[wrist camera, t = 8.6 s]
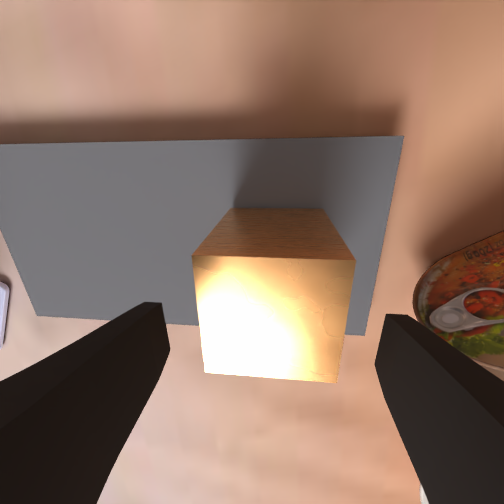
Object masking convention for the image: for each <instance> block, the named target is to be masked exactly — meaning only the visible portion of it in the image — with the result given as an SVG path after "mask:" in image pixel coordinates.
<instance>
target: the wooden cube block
mask: <svg viewBox="0 0 504 504" xmlns="http://www.w3.org/2000/svg"><path fill="white" fill-rule="evenodd" d="M191 256H192V265H193V273H194V282H195V290H196V298H197V307H198V315H199V324H200V332H201V340H202V349H203V357H204V366H205V372H208V373H220V374H233V375H245V376H257V377H269V378H282V379H294V380H306V381H318V382H330V383H337V378H338V372H339V366H340V359H341V353H342V347H343V340H344V334H345V328H346V322H347V315H348V309H349V303H350V297H351V290H352V284H353V278H354V271H355V265H356V259H355V258H354V256H353V255H352V253H351V251H350V250H349V248H348V247H347V245H346V244H345V242H344V241H343V239H342V237H341V236H340V234H339V233H338V231H337V230H336V228H335V227H334V225H333V223H332V222H331V220H330V219H329V217H328V216H327V214H326V213H325V211H324V209H305V208H230V209H229V210H228V212H227V213H226V214H225V215H224V216H223V218H222V219H221V220H220V221H219V223H218V224H217V225H216V226H215V227H214V229H213V230H212V231H211V232H210V233H209V235H208V236H207V237H206V238H205V239H204V241H203V242H202V243H201V244H200V245H199V247H198V248H197V249H196V250H195V252H194V253H193V254H192V255H191Z"/></svg>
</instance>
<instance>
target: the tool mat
mask: <svg viewBox="0 0 504 504" xmlns="http://www.w3.org/2000/svg"><path fill="white" fill-rule="evenodd" d="M403 139H404V136H368V137H321V138H274V139H227V140H180V141H132V142H85V143H38V144H0V230H1V232H2V234H3V237H4V239H5V241H6V244H7V246H8V248H9V251H10V253H11V256H12V258H13V260H14V263H15V265H16V267H17V270H18V272H19V274H20V277H21V279H22V282H23V284H24V286H25V289H26V291H27V293H28V296H29V298H30V301H31V303H32V305H33V308H34V310H35V312H36V315H37V316H48V317H64V318H81V319H97V320H113V319H115V318H116V317H118V316H120V315H121V314H123V313H125V312H126V311H128V310H130V309H132V308H134V307H135V306H137V305H139V304H141V303H143V302H161V303H162V306H163V312H164V317H165V323H166V324H180V325H196V326H200V324H199V315H198V307H197V298H196V290H195V282H194V273H193V265H192V256H191V255H192V254H193V253H194V252H195V250H196V249H197V248H198V247H199V245H200V244H201V243H202V242H203V241H204V239H205V238H206V237H207V236H208V235H209V233H210V232H211V231H212V230H213V229H214V227H215V226H216V225H217V224H218V223H219V221H220V220H221V219H222V218H223V216H224V215H225V214H226V213H227V212H228V210H229V209H230V208H305V209H324V211H325V213H326V214H327V216H328V217H329V219H330V220H331V222H332V223H333V225H334V227H335V228H336V230H337V231H338V233H339V234H340V236H341V237H342V239H343V241H344V242H345V244H346V245H347V247H348V248H349V250H350V251H351V253H352V255H353V256H354V258H355V259H356V265H355V271H354V278H353V284H352V290H351V297H350V303H349V309H348V315H347V322H346V328H345V334H344V335H361V336H365V332H366V326H367V321H368V316H369V311H370V306H371V301H372V296H373V291H374V286H375V281H376V276H377V271H378V266H379V261H380V256H381V250H382V245H383V240H384V235H385V230H386V225H387V220H388V215H389V210H390V205H391V200H392V195H393V190H394V185H395V180H396V175H397V169H398V164H399V159H400V154H401V149H402V144H403Z"/></svg>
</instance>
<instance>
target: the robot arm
mask: <svg viewBox="0 0 504 504" xmlns="http://www.w3.org/2000/svg"><path fill="white" fill-rule="evenodd" d="M8 298H9V287H8V286H7V285H6V284H4V283H2V282H0V349H2V347H3V339H4V331H5V323H6V315H7V306H8ZM169 352H170V344H169V339H168V334H167V328H166V323H165V317H164V312H163V306H162V303H161V302H143V303H141V304H139V305H137V306H135V307H134V308H132V309H130V310H128V311H126V312H125V313H123V314H121V315H120V316H118V317H116V318H115V319H113V320H111V321H110V322H108V323H106V324H104V325H103V326H101V327H99V328H98V329H96V330H94V331H93V332H91V333H89V334H88V335H86V336H84V337H82V338H81V339H79V340H77V341H75V342H74V343H72V344H70V345H68V346H66V347H65V348H63V349H61V350H59V351H57V352H56V353H54V354H52V355H50V356H48V357H47V358H45V359H43V360H41V361H39V362H38V363H36V364H34V365H32V366H30V367H28V368H26V369H24V370H22V371H20V372H18V373H16V374H14V375H12V376H10V377H8V378H6V379H4V380H2V381H0V504H97V501H98V499H99V497H100V495H101V492H102V490H103V488H104V485H105V483H106V481H107V479H108V476H109V474H110V472H111V470H112V468H113V466H114V464H115V462H116V460H117V458H118V456H119V454H120V452H121V450H122V448H123V446H124V444H125V442H126V441H127V439H128V437H129V435H130V433H131V431H132V429H133V428H134V426H135V424H136V422H137V420H138V418H139V416H140V414H141V413H142V411H143V409H144V407H145V405H146V403H147V401H148V399H149V398H150V396H151V394H152V392H153V390H154V388H155V386H156V384H157V382H158V380H159V378H160V376H161V373H162V371H163V368H164V366H165V363H166V360H167V358H168V355H169ZM375 367H376V371H377V375H378V378H379V382H380V385H381V388H382V392H383V395H384V398H385V400H386V403H387V405H388V408H389V410H390V412H391V415H392V417H393V420H394V422H395V424H396V427H397V429H398V431H399V434H400V436H401V438H402V441H403V443H404V445H405V448H406V450H407V452H408V455H409V457H410V459H411V462H412V464H413V466H414V469H415V471H416V473H417V476H418V478H419V480H420V483H421V485H422V487H423V490H424V492H425V495H426V497H427V500H428V503H429V504H504V381H503V380H501V379H500V378H498V377H497V376H495V375H494V374H492V373H491V372H489V371H488V370H486V369H485V368H483V367H482V366H481V365H479V364H478V363H476V362H475V361H473V360H472V359H470V358H469V357H468V356H466V355H465V354H463V353H462V352H460V351H459V350H458V349H456V348H455V347H453V346H452V345H451V344H449V343H448V342H446V341H445V340H444V339H442V338H441V337H439V336H438V335H436V334H435V333H434V332H432V331H431V330H429V329H428V328H426V327H425V326H424V325H422V324H421V323H419V322H418V321H416V320H415V319H413V318H412V317H410V316H408V315H402V314H386V316H385V320H384V325H383V329H382V333H381V338H380V342H379V347H378V351H377V355H376V360H375Z"/></svg>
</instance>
